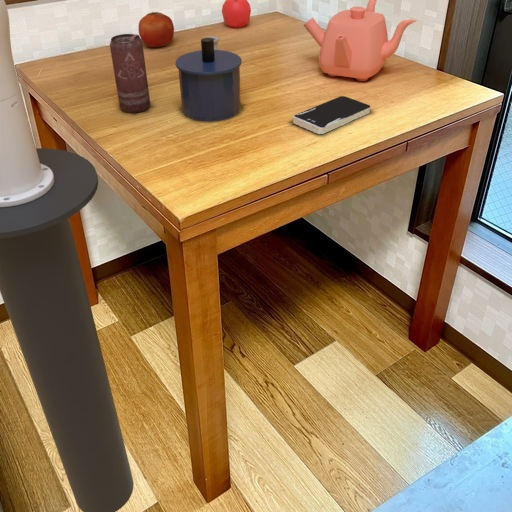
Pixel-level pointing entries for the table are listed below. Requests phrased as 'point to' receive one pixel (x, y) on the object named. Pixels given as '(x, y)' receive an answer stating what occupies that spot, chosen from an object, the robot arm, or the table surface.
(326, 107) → the smartphone
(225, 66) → the pot lid
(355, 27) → the teapot
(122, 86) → the can
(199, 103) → the pot
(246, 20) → the apple
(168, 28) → the tomato
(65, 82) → the table surface
